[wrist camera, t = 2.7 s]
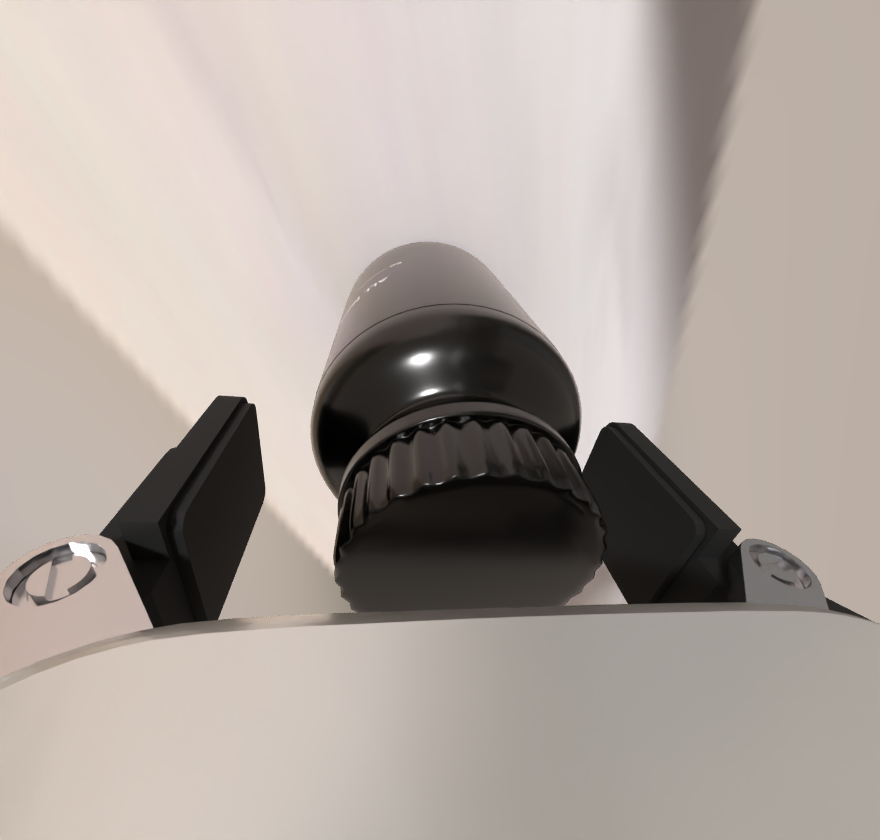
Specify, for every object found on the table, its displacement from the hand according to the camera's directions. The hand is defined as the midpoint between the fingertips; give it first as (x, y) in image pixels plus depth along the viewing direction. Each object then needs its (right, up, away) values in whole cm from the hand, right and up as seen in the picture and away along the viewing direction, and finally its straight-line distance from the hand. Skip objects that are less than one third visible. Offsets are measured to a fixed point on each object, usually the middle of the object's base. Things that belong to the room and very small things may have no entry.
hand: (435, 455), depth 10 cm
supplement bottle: (0, +5, +6) cm, 8 cm away
